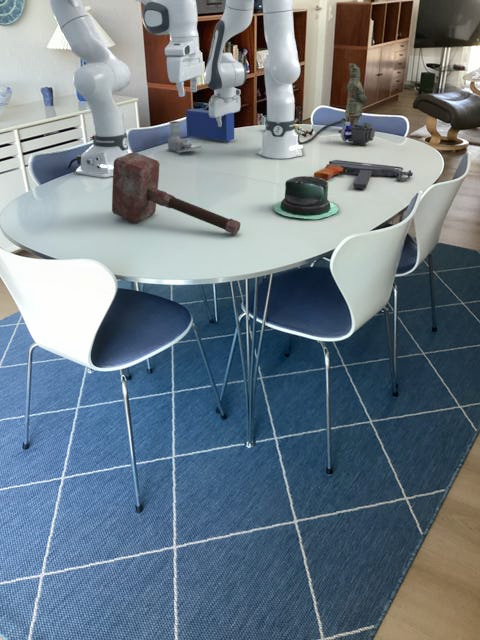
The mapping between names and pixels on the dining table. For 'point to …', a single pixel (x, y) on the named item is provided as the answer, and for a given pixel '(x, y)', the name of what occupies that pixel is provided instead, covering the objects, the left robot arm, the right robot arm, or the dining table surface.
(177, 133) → the grey boot
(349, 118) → the statue
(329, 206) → the green fedora hat
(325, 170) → the submachine gun
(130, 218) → the sledgehammer
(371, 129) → the toy
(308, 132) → the figurine
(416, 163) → the dining table surface
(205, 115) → the box
